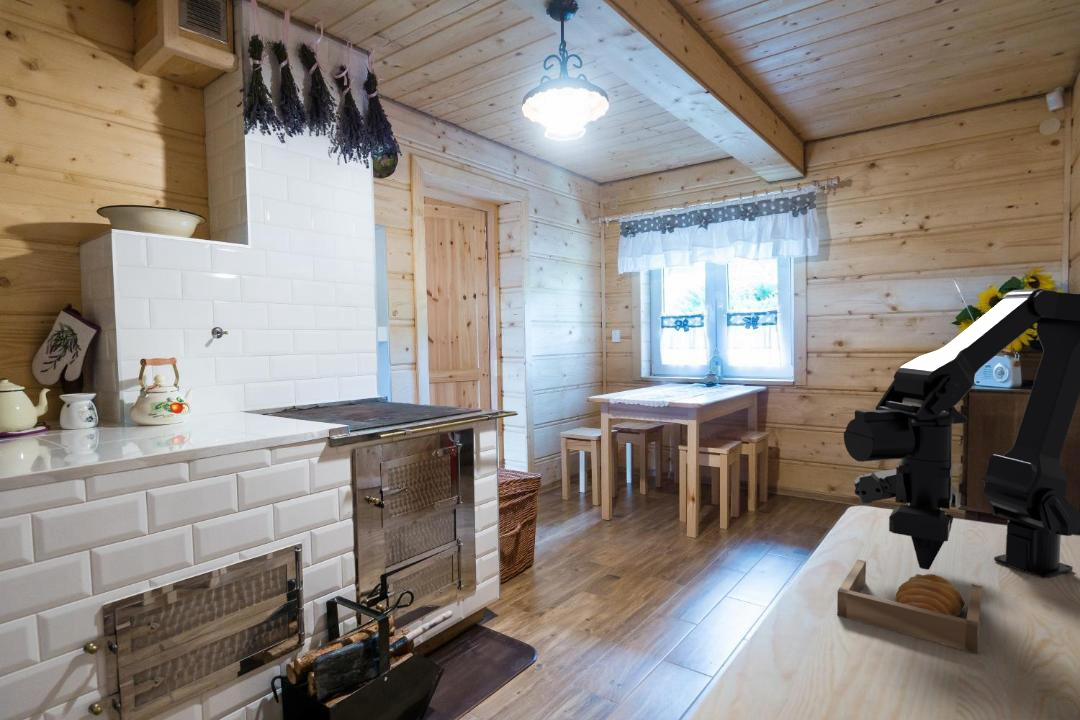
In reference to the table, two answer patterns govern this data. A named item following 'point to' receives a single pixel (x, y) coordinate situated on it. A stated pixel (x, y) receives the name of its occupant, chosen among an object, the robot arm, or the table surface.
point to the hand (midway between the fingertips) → (924, 568)
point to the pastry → (931, 594)
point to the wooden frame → (909, 614)
